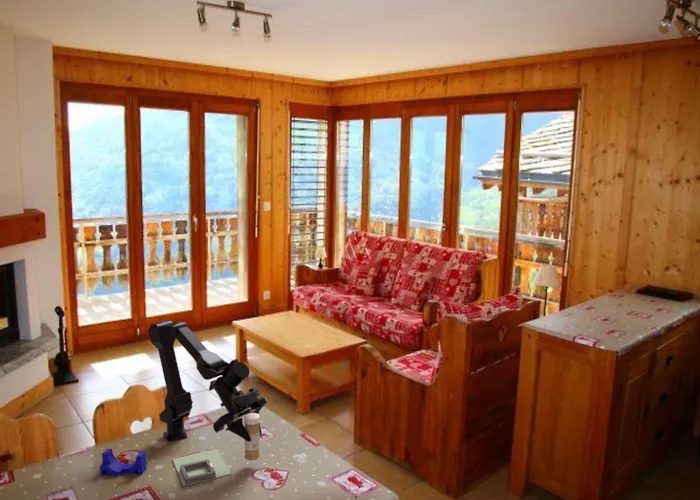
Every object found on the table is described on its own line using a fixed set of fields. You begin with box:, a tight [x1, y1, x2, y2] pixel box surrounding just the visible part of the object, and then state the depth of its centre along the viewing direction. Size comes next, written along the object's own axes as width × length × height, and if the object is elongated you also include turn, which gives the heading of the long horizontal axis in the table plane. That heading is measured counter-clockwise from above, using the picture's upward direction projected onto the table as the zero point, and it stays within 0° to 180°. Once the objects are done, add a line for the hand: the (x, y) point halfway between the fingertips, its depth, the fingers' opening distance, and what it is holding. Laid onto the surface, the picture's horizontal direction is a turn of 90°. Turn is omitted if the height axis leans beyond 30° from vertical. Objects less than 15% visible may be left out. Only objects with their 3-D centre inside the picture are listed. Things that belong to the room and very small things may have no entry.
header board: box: [172, 449, 232, 487], centre depth 169 cm, size 16×14×2 cm
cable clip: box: [99, 448, 147, 477], centre depth 165 cm, size 12×4×6 cm, turn 85°
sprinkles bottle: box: [243, 413, 261, 461], centre depth 169 cm, size 5×5×14 cm
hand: (255, 438), depth 168 cm, fingers closed on sprinkles bottle, 4 cm apart
